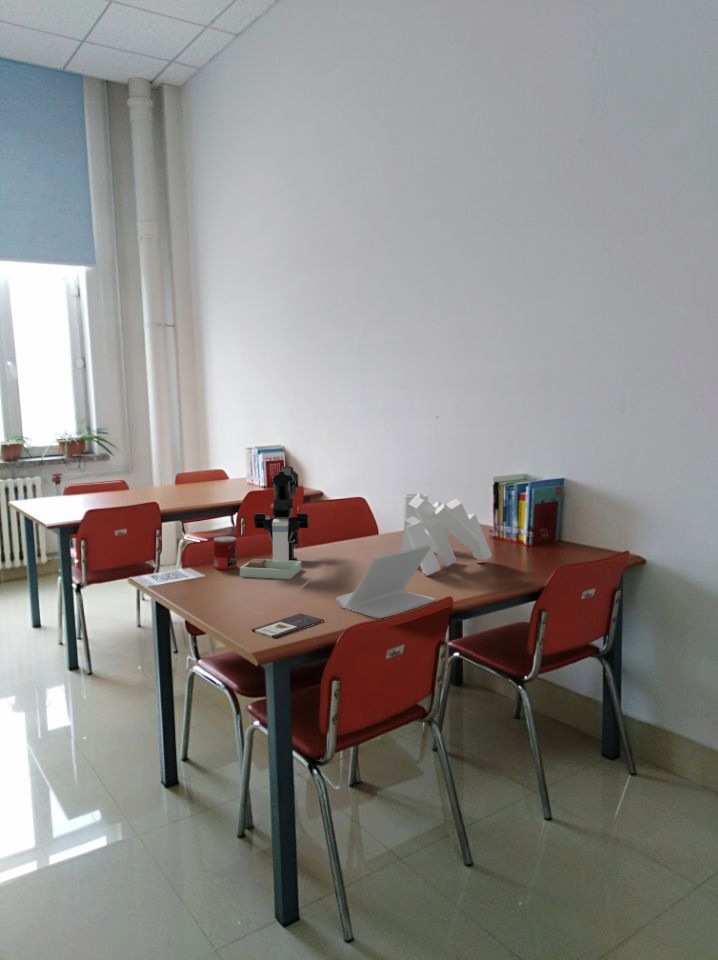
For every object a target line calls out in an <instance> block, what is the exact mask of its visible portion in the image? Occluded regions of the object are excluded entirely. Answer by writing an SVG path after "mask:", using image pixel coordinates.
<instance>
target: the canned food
mask: <svg viewBox="0 0 718 960" xmlns="http://www.w3.org/2000/svg"><path fill="white" fill-rule="evenodd" d="M237 561H238V559H237V537H235V536H229V535H228V536H227V535H226V536H224V535H223V536H216V537H214V538H213V564H214V565H213V566H214V567H213V568H214V569H216V570H220V571H222V570H223V571H225V570H226V571H227V570H233V569H236V568H237V566H238V565H237Z"/></svg>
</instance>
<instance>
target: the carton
mask: <svg viewBox="0 0 718 960" xmlns="http://www.w3.org/2000/svg"><path fill="white" fill-rule="evenodd" d="M288 529H289V523H288V519H274V520H273V522H272V532H273V542H272V560H273V562H288V559H289V542H288V532H289V531H288Z"/></svg>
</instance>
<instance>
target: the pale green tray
mask: <svg viewBox="0 0 718 960" xmlns="http://www.w3.org/2000/svg"><path fill="white" fill-rule="evenodd" d="M253 559H254V558H252V559H251V560H253ZM265 559H266V568H249V562H250V561H251V560H249V561H247V562H246V563H245V564H243V565H242V566H240V567H239V577H241V578H242V577H243V578H259V579H260V578H262V579H280V580H291V579H292V578H293V577H295V576H296V575H297V574H298V573H299V572H300V571H302V561H301V560H290V561H289V560H288V562H273V559H267V558H265Z"/></svg>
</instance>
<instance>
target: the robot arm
mask: <svg viewBox="0 0 718 960" xmlns="http://www.w3.org/2000/svg"><path fill="white" fill-rule="evenodd" d="M299 483H300V482H299V474H298V473H297V472H296V471H295V470H294V467H293V466H281V467H279V471H278V473H276V474H274V477H272V480H271V487H272V488H273V494H274V500H273V502H272V503H273V506H272V515H273V516H271V515H266V512H263V513H262V512H261V513H259V512H258V513H257V512H256V513H255V514H254V515H253V524H254V528H256V529H263V530H264V531H267V532H268V535H269V538H270V540H271V542H272V543H273V532H272V526H273V523H272V522H273V520H274V519H288V523H289V529H288V531H289V532H288V542H289V559H288V560H289V561H297V560H298V557H295V550H294V549H295V547H294V546H295V545H299V532H298V531H299V530H300V529H308V528H309V527H310V526H309V524H310V522H309V521H310V520H309V514H308V513H307V512H297V513H296V517H294V516H293V517H292V514H293V513H292V511H293V509H294V498H293V497H294V496H295V495H296V494H297V492H298V491H297V489H298V488H299Z"/></svg>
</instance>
